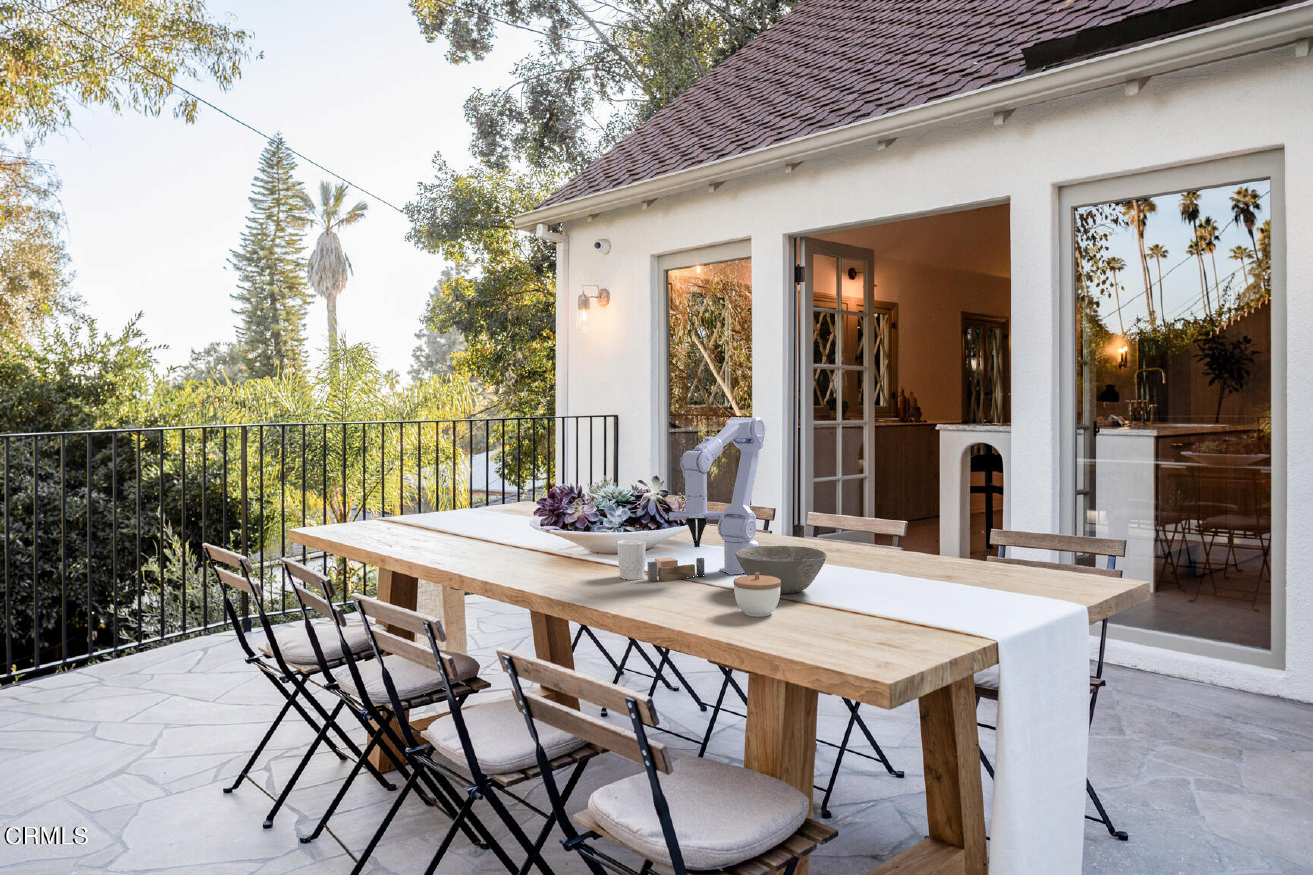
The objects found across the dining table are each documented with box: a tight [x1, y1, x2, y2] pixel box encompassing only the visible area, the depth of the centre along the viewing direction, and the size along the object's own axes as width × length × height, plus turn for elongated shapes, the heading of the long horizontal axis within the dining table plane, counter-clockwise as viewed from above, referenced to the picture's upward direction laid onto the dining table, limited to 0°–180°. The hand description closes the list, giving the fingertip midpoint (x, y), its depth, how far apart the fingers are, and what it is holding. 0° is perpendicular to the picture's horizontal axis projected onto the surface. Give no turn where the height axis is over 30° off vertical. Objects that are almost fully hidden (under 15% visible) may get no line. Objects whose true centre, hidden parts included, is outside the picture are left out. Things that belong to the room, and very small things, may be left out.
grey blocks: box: [647, 557, 705, 582], centre depth 234 cm, size 16×2×5 cm, turn 109°
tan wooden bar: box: [658, 564, 696, 582], centre depth 234 cm, size 10×1×4 cm, turn 115°
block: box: [654, 556, 679, 570], centre depth 242 cm, size 5×5×4 cm
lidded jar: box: [733, 572, 781, 618], centre depth 195 cm, size 11×11×9 cm
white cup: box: [616, 539, 647, 581], centre depth 236 cm, size 8×8×10 cm
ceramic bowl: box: [735, 545, 827, 595], centre depth 217 cm, size 22×23×10 cm
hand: (696, 546), depth 227 cm, fingers closed
